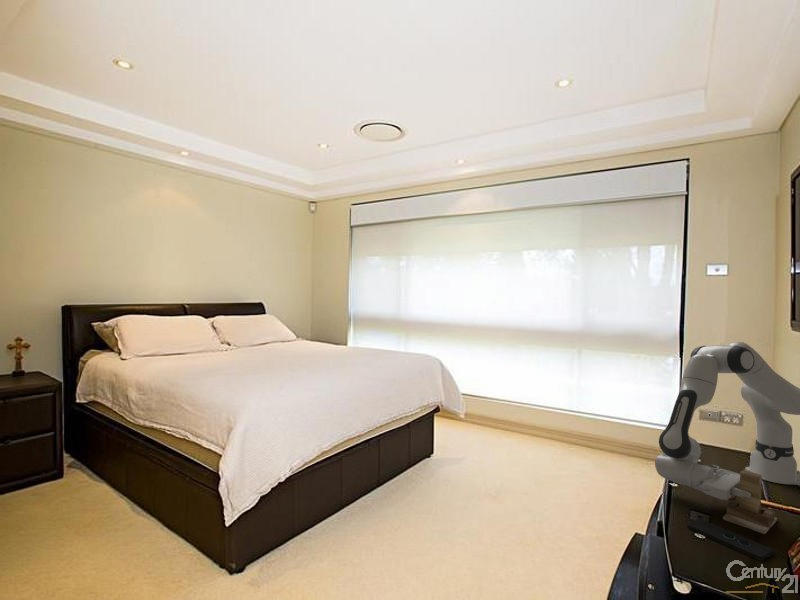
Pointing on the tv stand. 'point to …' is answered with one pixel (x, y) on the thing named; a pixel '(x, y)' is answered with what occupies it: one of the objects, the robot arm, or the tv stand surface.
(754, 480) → the oak plank
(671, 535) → the tv stand surface
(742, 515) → the wooden plank holder
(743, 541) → the smart home device
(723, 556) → the tv stand surface
